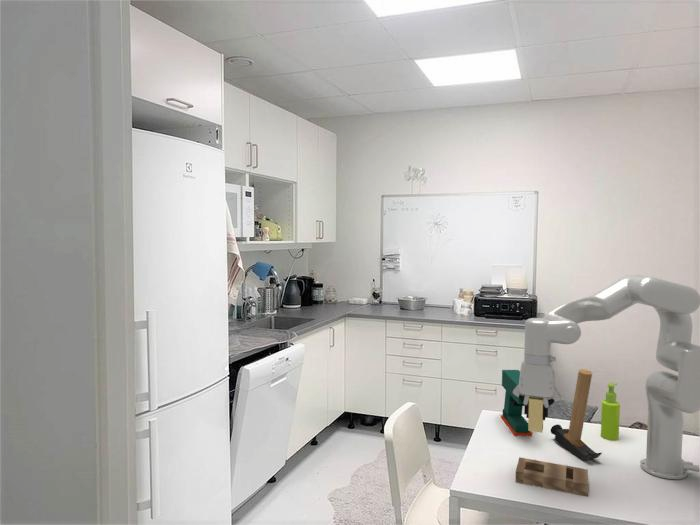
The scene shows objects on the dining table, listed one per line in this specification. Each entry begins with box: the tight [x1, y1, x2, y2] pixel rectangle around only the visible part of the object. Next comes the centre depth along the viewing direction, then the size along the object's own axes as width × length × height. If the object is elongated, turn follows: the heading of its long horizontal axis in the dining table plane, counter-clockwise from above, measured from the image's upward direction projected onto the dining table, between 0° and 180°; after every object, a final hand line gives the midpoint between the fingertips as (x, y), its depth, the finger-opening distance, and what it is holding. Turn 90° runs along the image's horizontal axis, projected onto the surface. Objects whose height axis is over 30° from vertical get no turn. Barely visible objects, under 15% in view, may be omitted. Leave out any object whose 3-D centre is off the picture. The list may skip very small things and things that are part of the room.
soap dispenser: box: [600, 382, 621, 441], centre depth 186 cm, size 6×7×20 cm
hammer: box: [550, 368, 603, 461], centre depth 172 cm, size 20×5×30 cm, turn 14°
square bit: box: [527, 396, 544, 433], centre depth 155 cm, size 4×4×10 cm
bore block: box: [515, 456, 589, 497], centre depth 154 cm, size 20×10×4 cm, turn 66°
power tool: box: [500, 369, 533, 437], centre depth 189 cm, size 32×7×20 cm, turn 179°
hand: (535, 417), depth 155 cm, fingers closed on square bit, 4 cm apart
